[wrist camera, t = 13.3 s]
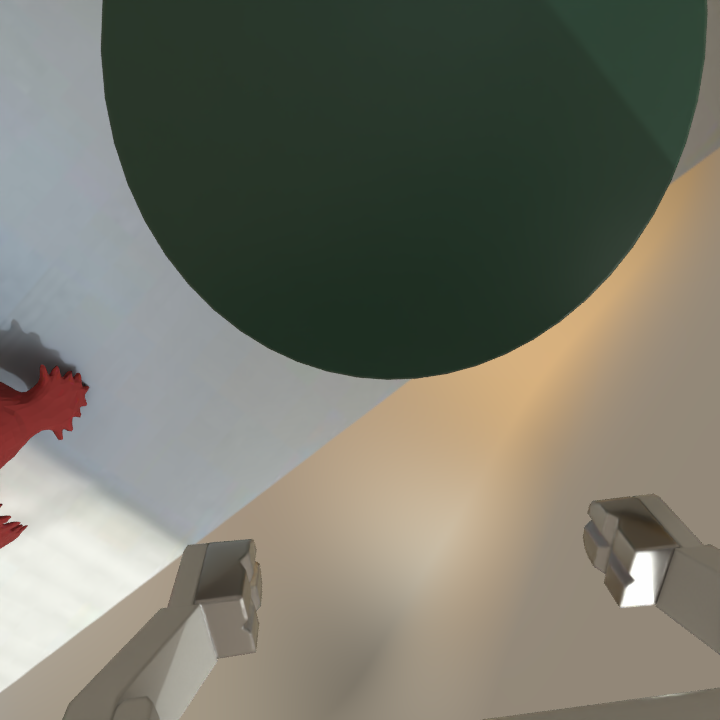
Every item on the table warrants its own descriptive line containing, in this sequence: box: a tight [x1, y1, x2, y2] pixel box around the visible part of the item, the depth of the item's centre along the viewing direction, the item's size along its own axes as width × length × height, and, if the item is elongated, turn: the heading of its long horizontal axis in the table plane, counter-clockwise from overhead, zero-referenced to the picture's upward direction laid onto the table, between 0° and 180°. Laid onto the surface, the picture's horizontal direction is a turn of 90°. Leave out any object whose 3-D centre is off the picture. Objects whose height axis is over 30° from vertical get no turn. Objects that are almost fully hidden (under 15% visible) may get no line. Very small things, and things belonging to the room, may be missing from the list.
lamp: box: [101, 0, 707, 380], centre depth 19 cm, size 9×9×26 cm
